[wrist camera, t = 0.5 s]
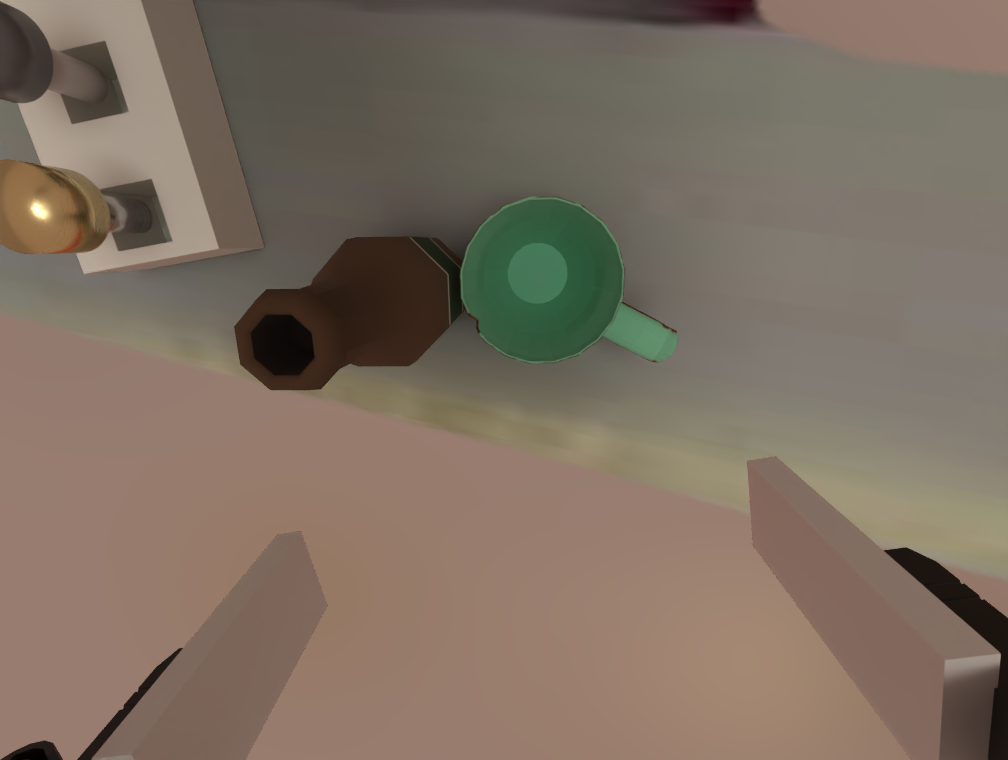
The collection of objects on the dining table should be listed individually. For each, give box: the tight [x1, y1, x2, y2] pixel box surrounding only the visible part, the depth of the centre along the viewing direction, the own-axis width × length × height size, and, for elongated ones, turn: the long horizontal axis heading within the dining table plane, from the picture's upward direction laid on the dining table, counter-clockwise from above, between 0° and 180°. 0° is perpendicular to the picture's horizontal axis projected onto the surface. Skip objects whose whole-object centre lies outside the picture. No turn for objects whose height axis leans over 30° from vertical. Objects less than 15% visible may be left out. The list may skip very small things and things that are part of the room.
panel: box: [0, 0, 264, 274], centre depth 33 cm, size 22×10×6 cm, turn 10°
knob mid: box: [0, 1, 108, 104], centre depth 27 cm, size 5×5×8 cm
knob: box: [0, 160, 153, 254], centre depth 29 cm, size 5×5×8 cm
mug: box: [460, 196, 678, 363], centre depth 34 cm, size 15×10×10 cm
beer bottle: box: [234, 237, 465, 390], centre depth 28 cm, size 8×8×24 cm
